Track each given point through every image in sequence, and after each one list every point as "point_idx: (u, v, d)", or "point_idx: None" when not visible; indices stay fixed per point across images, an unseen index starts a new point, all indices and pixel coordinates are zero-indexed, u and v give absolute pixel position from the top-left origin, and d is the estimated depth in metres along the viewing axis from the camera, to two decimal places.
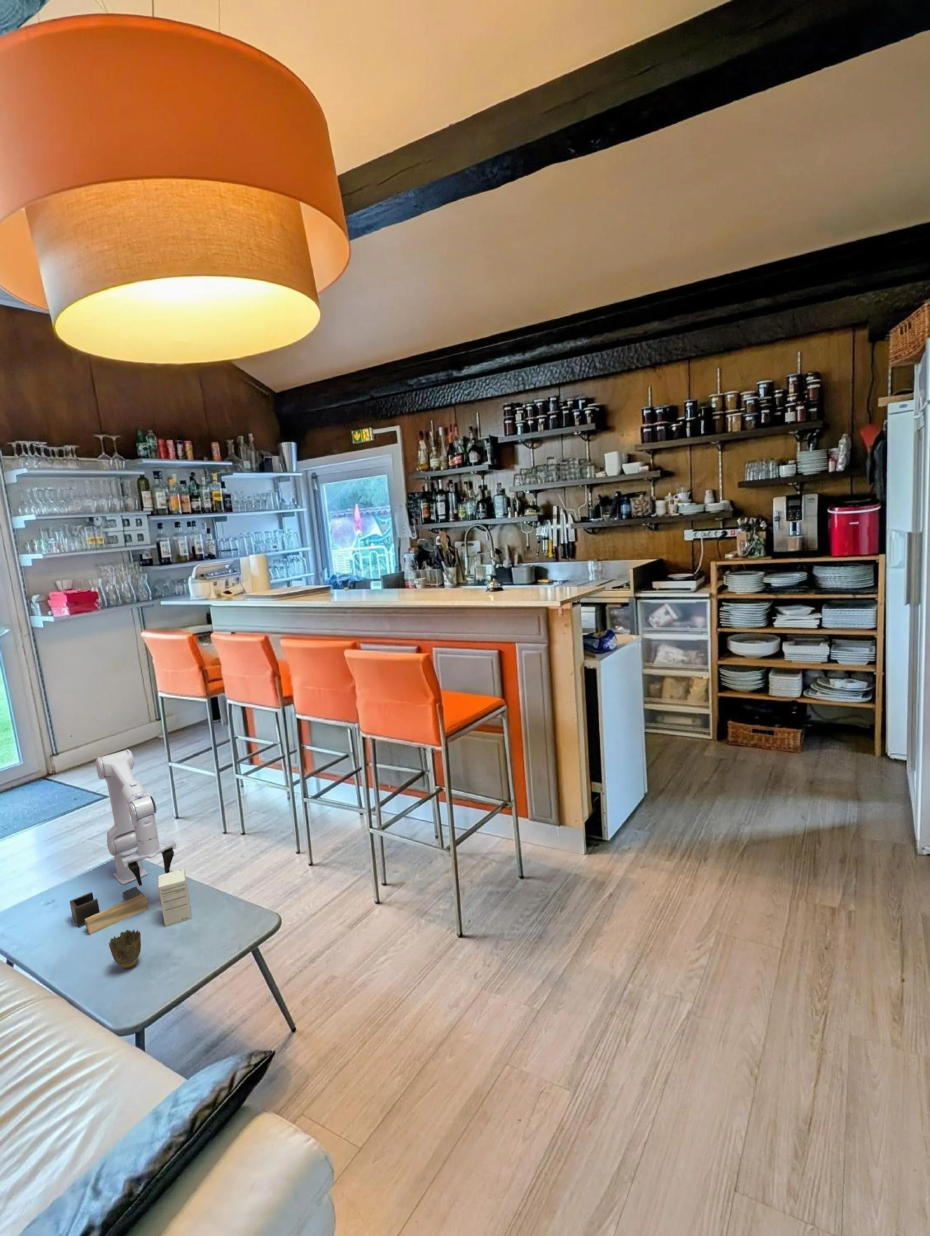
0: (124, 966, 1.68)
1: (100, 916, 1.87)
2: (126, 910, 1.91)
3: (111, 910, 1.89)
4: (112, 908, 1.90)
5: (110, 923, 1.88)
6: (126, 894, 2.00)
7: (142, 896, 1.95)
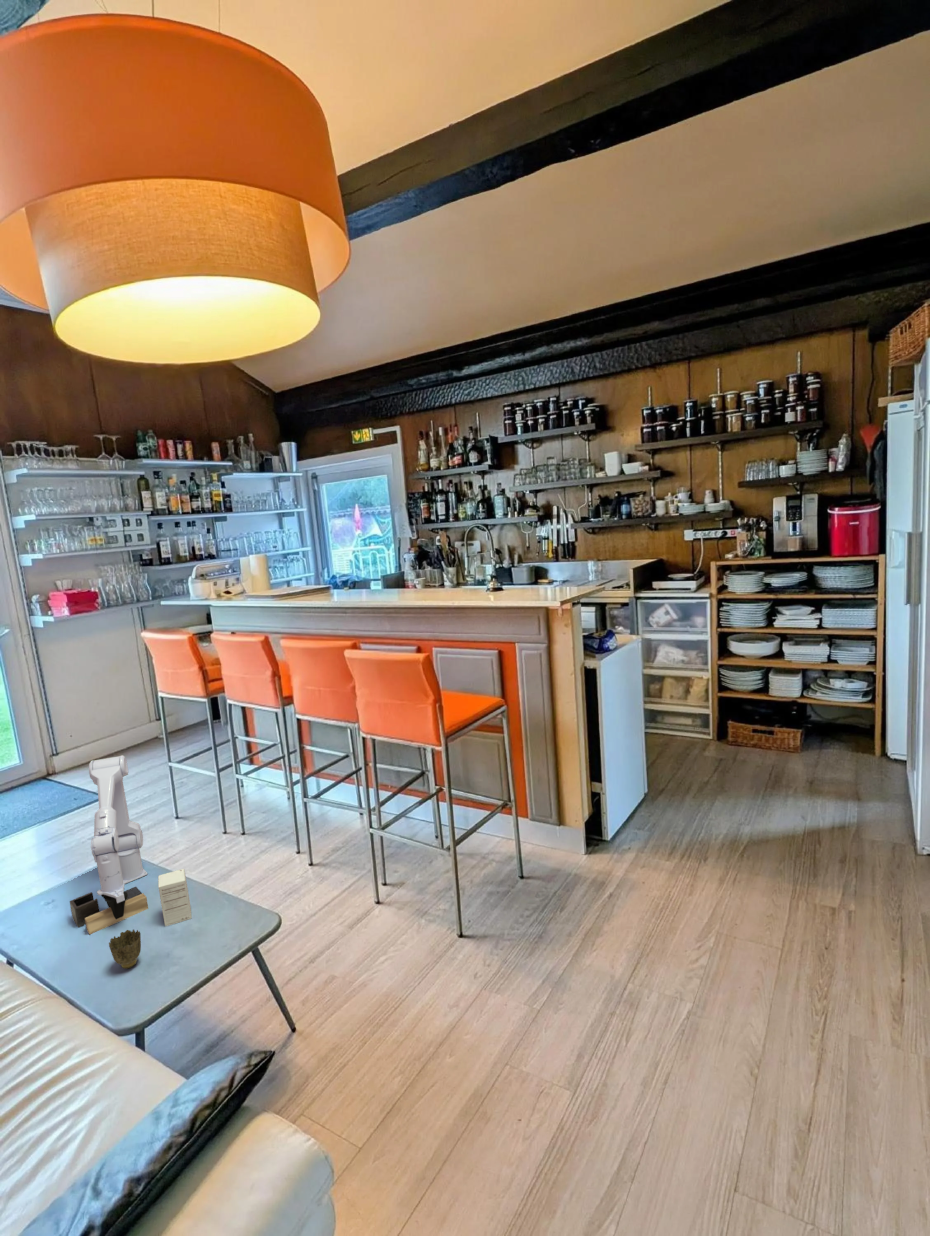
0: (124, 966, 1.68)
1: (100, 915, 1.87)
2: (126, 909, 1.91)
3: None
4: None
5: (110, 922, 1.88)
6: None
7: (142, 896, 1.95)
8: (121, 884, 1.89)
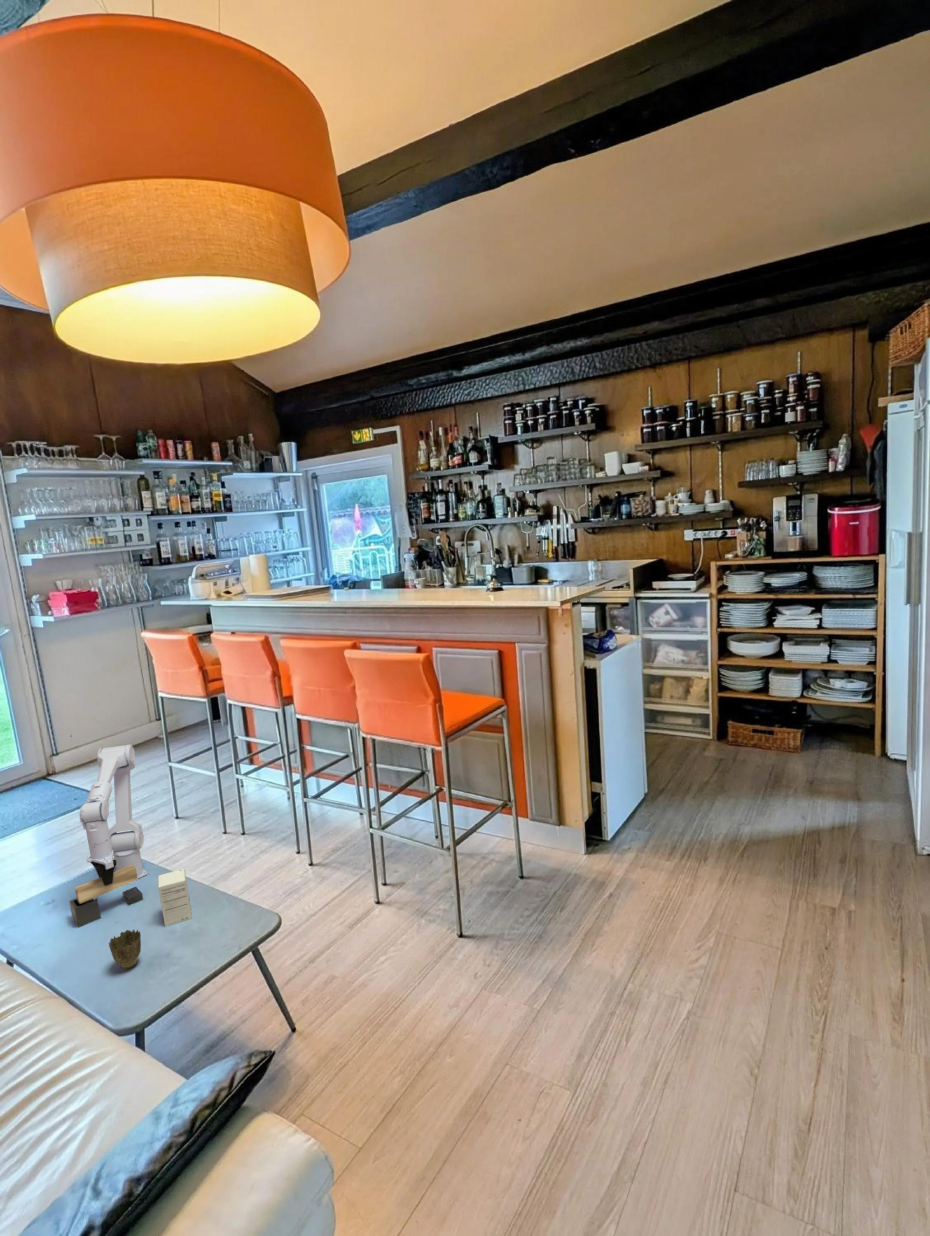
0: (124, 966, 1.68)
1: (90, 885, 1.90)
2: (116, 879, 1.95)
3: (101, 879, 1.93)
4: None
5: (100, 892, 1.92)
6: (126, 894, 2.00)
7: (132, 867, 1.99)
8: (110, 852, 1.92)
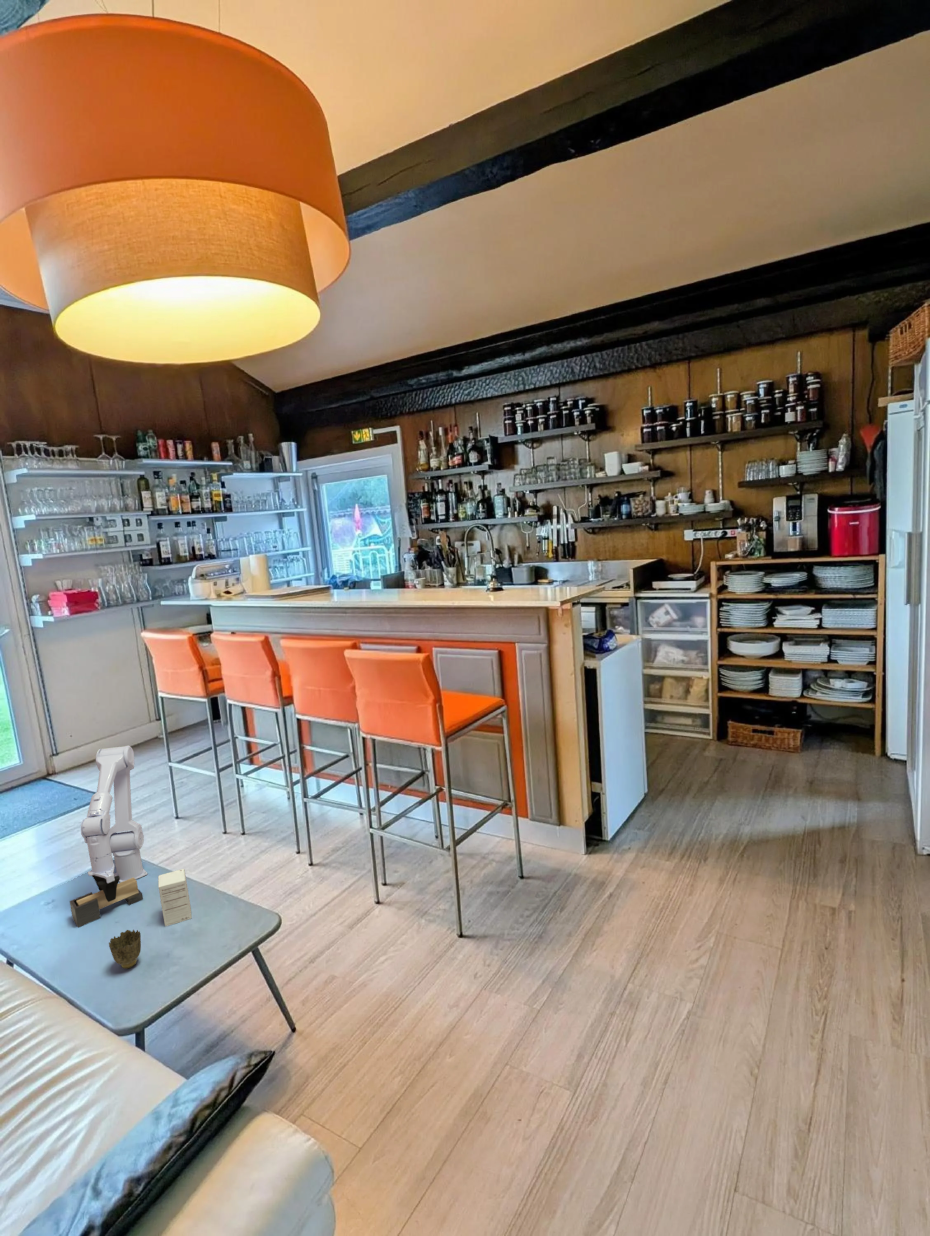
0: (124, 966, 1.68)
1: (91, 898, 1.92)
2: (116, 892, 1.96)
3: (102, 893, 1.94)
4: None
5: (101, 905, 1.93)
6: None
7: (132, 880, 2.01)
8: (111, 865, 1.94)
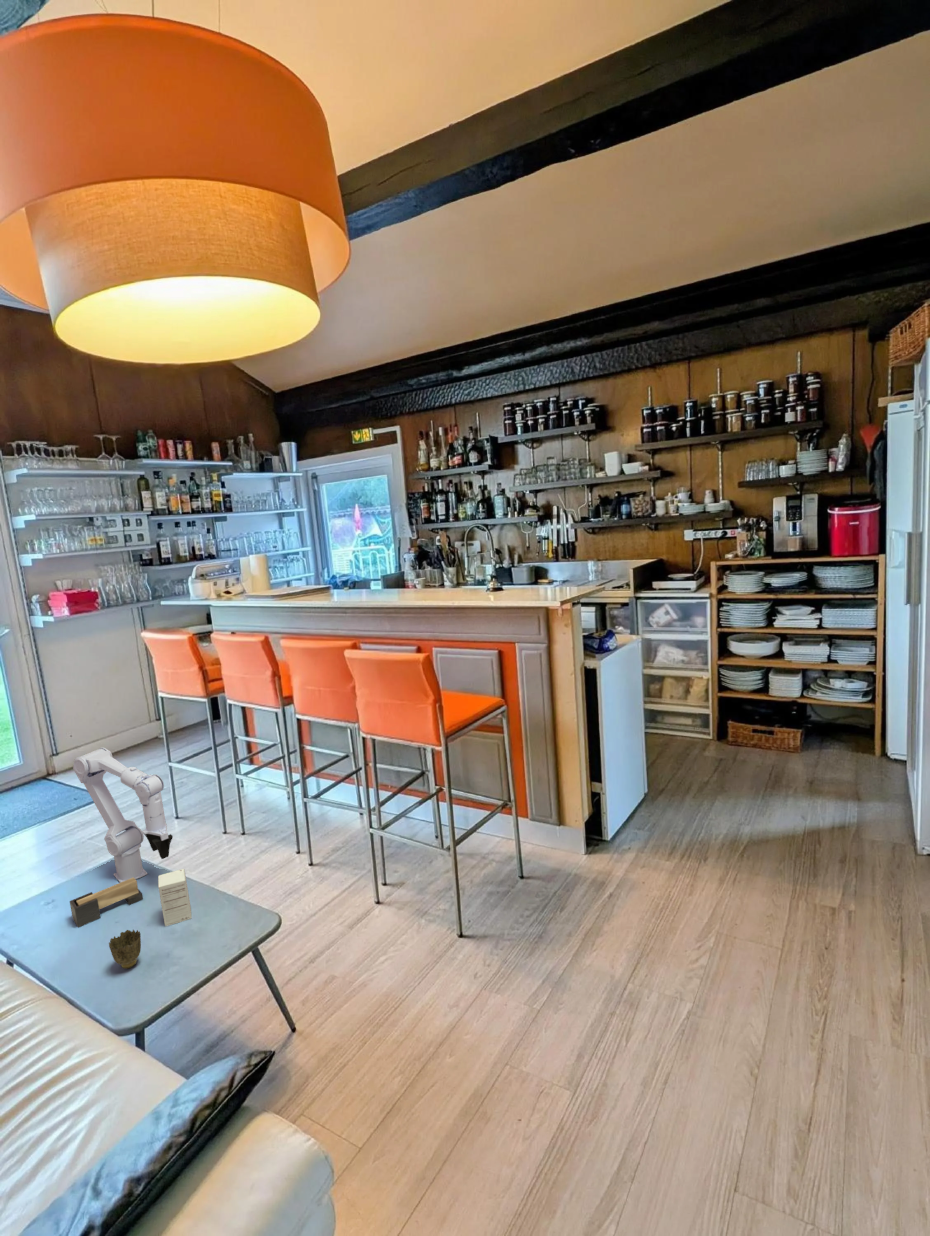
0: (124, 966, 1.68)
1: (91, 898, 1.92)
2: (116, 892, 1.96)
3: (102, 893, 1.94)
4: (103, 891, 1.95)
5: (101, 905, 1.93)
6: None
7: (132, 880, 2.01)
8: (164, 825, 2.05)
